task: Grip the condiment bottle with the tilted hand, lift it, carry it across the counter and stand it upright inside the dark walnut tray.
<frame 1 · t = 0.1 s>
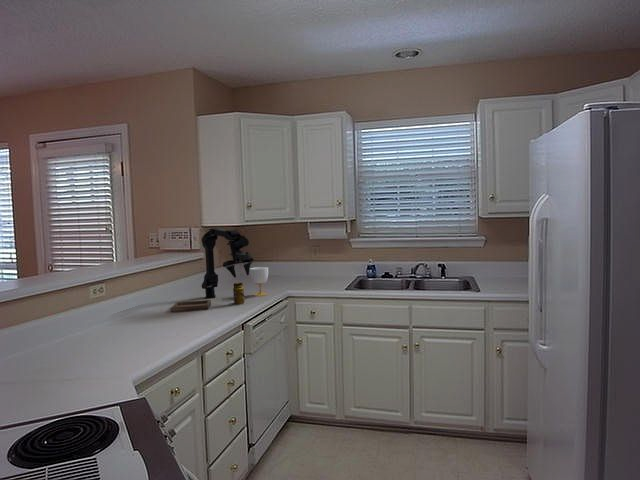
hand: (241, 276, 274), 15 cm above the counter, tool pointing down, fingers open, 9 cm apart
cup: (260, 295, 297), on the counter
condiment: (237, 304, 272), on the counter
tray: (191, 308, 267), on the counter
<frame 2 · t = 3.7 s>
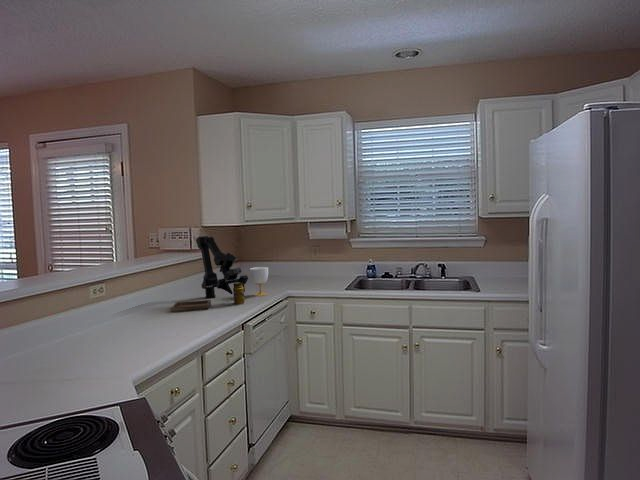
hand: (238, 292, 271), 7 cm above the counter, tool tilted 45°, fingers open, 8 cm apart
condiment: (237, 304, 272), on the counter, touching gripper
everything else where it was.
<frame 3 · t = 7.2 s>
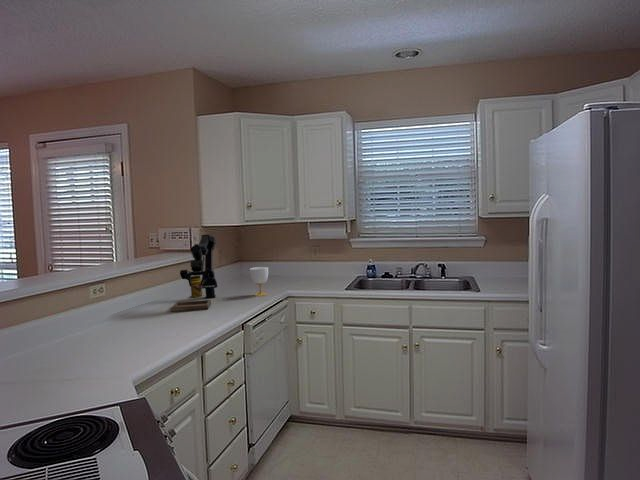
hand: (195, 285, 264), 13 cm above the counter, tool tilted 45°, fingers closed on condiment, 6 cm apart
condiment: (195, 297, 265), point 6 cm above the counter, touching gripper
everything else where it was.
when the fingers open (8 cm above the counter, at t = 10.1 s): condiment stays where it is, resting on tray.
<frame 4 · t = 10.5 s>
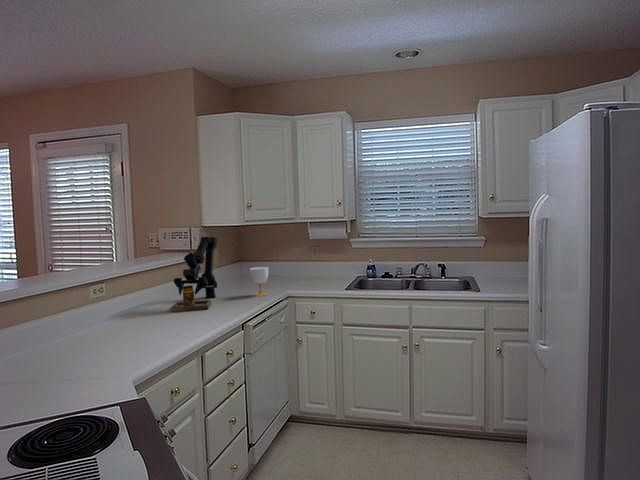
hand: (187, 294, 264), 9 cm above the counter, tool tilted 45°, fingers open, 9 cm apart
condiment: (188, 307, 266), point 1 cm above the counter, touching tray
everything else where it was.
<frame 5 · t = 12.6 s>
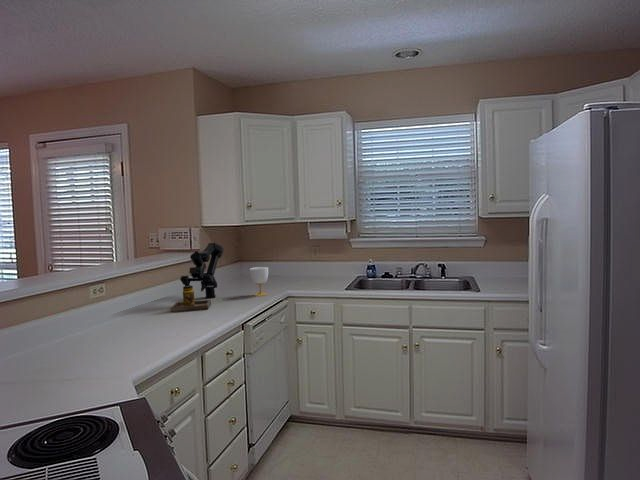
hand: (193, 291, 273), 8 cm above the counter, tool tilted 45°, fingers open, 9 cm apart
nothing on the counter moved.
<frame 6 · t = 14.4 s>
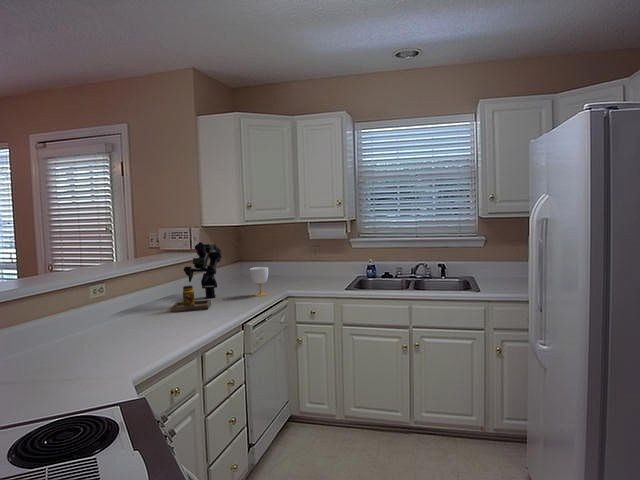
hand: (197, 281, 276), 14 cm above the counter, tool tilted 45°, fingers open, 9 cm apart
nothing on the counter moved.
at the end: condiment inside the target area on the tray (1.9 cm from its centre), point 0.8 cm above the tray's base; condiment tilted 0°; the gripper is holding nothing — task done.
